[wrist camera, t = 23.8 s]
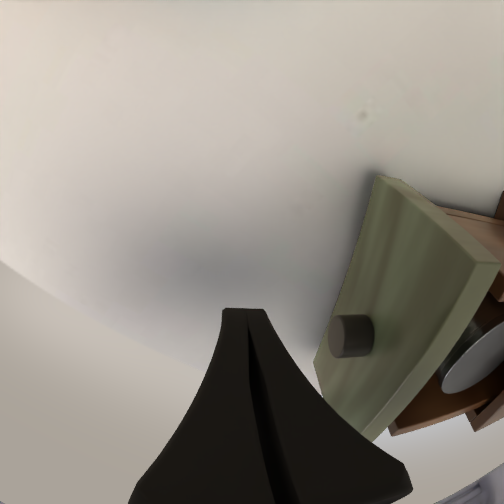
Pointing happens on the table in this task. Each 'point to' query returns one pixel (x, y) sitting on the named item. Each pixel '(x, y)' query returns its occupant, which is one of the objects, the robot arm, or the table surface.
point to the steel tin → (475, 349)
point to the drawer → (408, 312)
